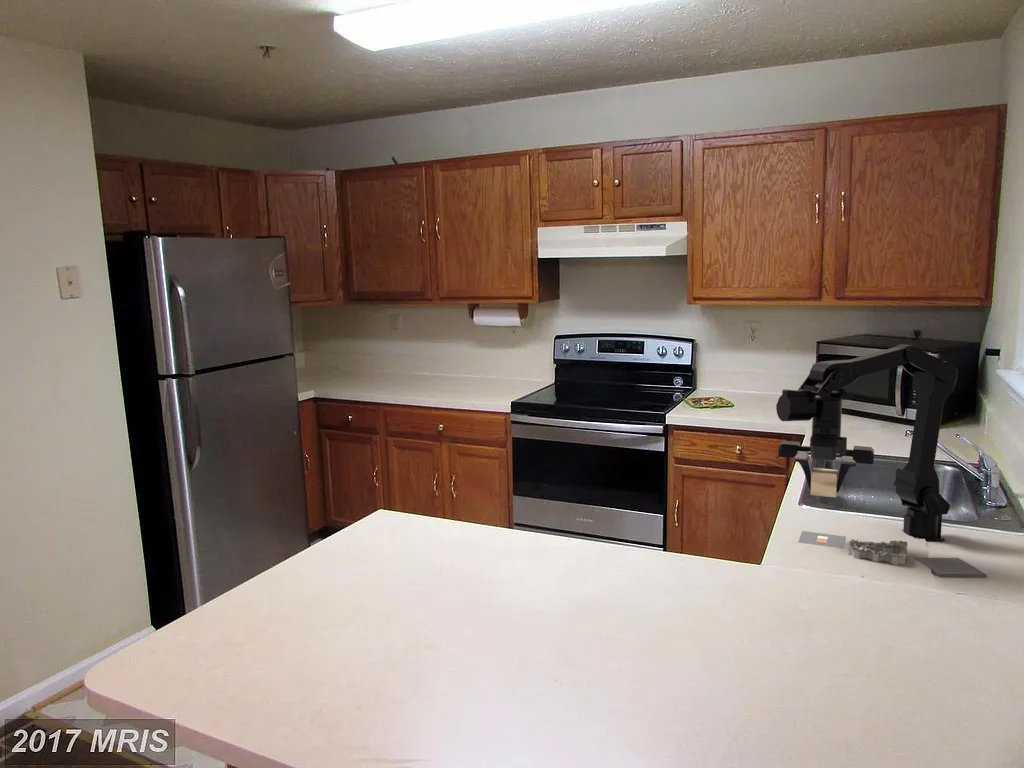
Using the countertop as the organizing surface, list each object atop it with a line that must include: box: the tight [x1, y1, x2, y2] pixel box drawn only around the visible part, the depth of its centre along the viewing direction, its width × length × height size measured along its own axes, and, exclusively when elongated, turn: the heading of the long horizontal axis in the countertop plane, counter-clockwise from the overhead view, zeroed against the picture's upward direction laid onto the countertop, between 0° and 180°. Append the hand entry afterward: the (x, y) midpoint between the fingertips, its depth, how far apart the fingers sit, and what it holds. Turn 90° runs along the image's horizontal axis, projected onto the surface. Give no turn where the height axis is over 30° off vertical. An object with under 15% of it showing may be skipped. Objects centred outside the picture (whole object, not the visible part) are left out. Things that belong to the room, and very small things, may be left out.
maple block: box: [810, 467, 839, 499], centre depth 152 cm, size 5×5×5 cm
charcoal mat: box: [913, 557, 988, 578], centre depth 137 cm, size 9×9×1 cm
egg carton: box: [847, 538, 909, 566], centre depth 142 cm, size 11×8×4 cm
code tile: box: [797, 530, 847, 549], centre depth 153 cm, size 9×9×1 cm
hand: (824, 490), depth 152 cm, fingers closed on maple block, 5 cm apart
